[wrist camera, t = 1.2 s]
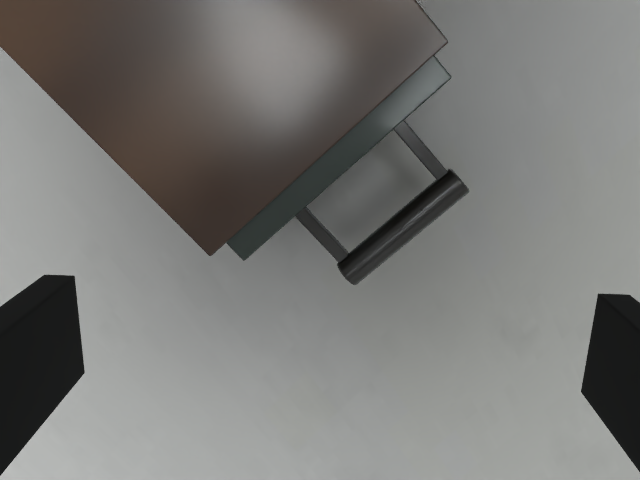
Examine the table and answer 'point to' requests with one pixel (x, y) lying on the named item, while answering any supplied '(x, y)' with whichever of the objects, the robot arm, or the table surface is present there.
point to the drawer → (340, 160)
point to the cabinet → (217, 88)
